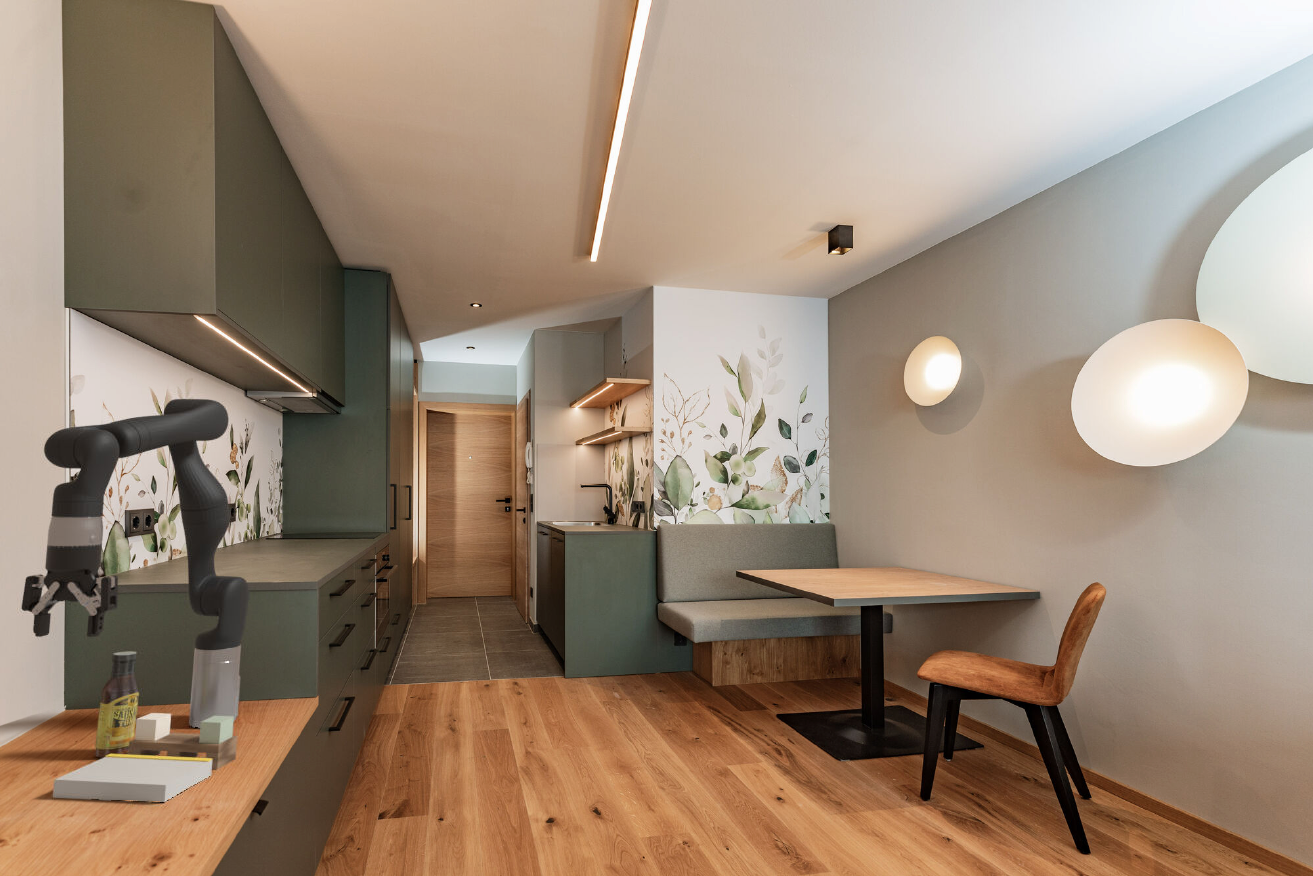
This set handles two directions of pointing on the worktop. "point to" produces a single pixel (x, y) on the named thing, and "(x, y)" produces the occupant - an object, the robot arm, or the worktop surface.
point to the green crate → (216, 729)
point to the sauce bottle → (118, 707)
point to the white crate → (153, 726)
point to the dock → (133, 778)
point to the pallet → (186, 748)
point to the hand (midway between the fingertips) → (67, 636)
